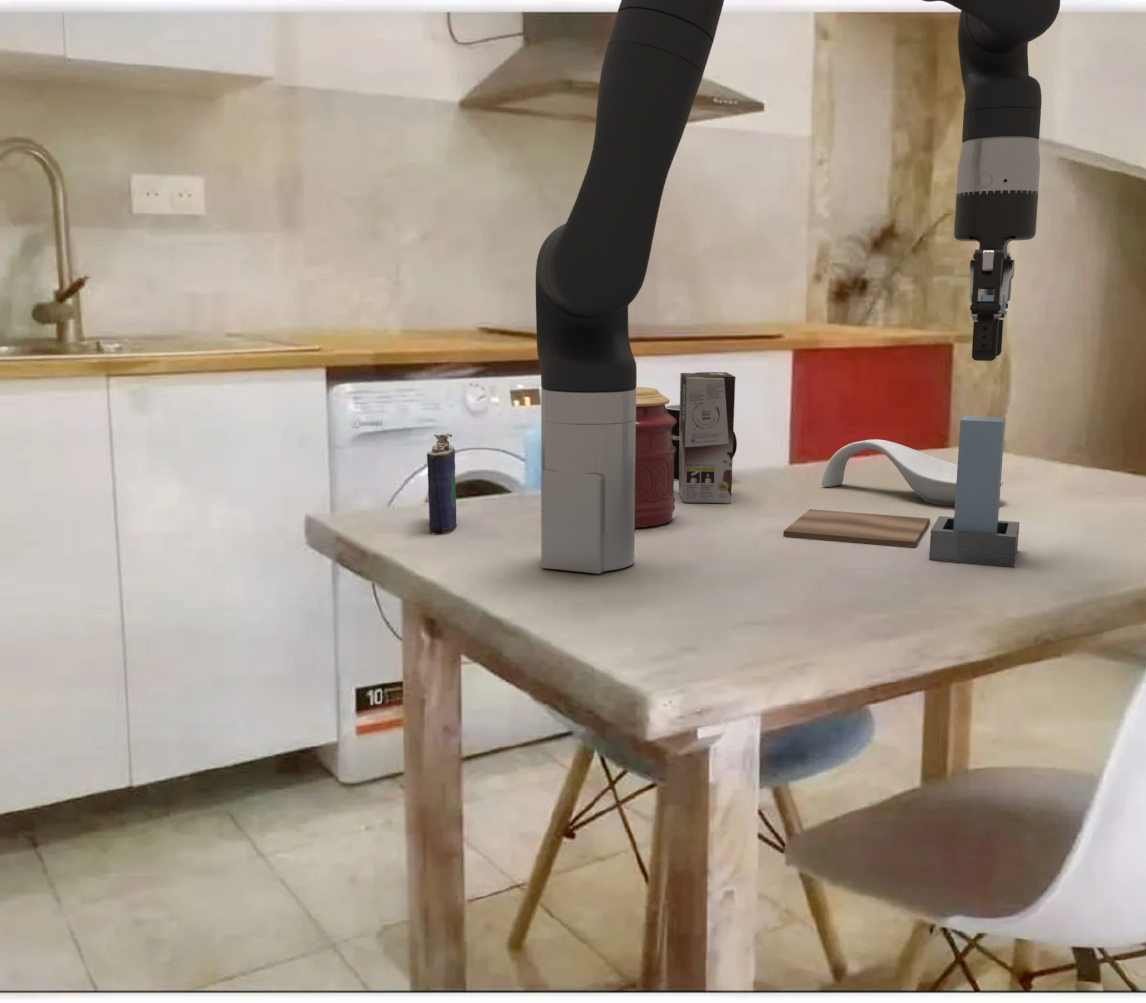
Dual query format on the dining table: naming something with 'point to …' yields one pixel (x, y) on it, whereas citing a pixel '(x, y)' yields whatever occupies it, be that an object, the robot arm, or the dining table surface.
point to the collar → (974, 544)
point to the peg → (979, 474)
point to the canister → (653, 459)
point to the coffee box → (706, 436)
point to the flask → (442, 486)
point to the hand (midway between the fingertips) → (986, 358)
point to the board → (859, 528)
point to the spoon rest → (902, 469)
